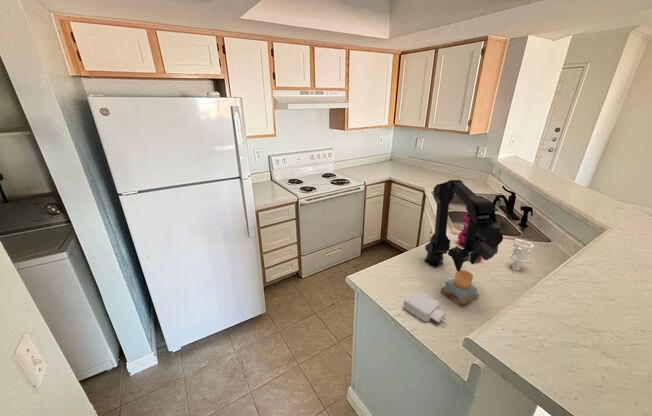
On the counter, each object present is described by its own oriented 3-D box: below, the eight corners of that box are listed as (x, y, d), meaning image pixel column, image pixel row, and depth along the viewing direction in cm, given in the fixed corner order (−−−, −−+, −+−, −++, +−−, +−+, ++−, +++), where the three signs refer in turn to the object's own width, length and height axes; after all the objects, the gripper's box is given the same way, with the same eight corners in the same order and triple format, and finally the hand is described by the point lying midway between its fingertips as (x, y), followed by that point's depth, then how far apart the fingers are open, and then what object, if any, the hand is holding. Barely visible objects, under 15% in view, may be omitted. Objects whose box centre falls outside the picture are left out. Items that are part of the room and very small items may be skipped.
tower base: (440, 293, 110) (441, 287, 109) (455, 285, 115) (456, 280, 114) (462, 309, 102) (463, 302, 101) (477, 300, 107) (479, 294, 106)
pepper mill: (458, 240, 151) (465, 208, 143) (472, 244, 147) (480, 211, 140) (455, 245, 146) (462, 212, 138) (469, 249, 142) (478, 215, 134)
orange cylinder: (450, 283, 107) (452, 272, 106) (459, 278, 110) (462, 268, 108) (464, 291, 103) (466, 281, 101) (473, 286, 106) (476, 276, 104)
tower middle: (444, 287, 110) (446, 281, 109) (459, 282, 112) (460, 276, 111) (460, 299, 103) (461, 293, 102) (475, 294, 106) (477, 288, 104)
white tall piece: (507, 262, 131) (515, 235, 125) (524, 267, 127) (534, 240, 121) (506, 269, 126) (515, 241, 120) (524, 275, 122) (534, 246, 116)
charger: (440, 333, 91) (402, 309, 101) (452, 319, 97) (415, 298, 107) (442, 323, 89) (404, 299, 100) (455, 309, 95) (417, 288, 105)
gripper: (480, 249, 88) (470, 286, 94) (510, 235, 97) (499, 271, 103) (451, 234, 97) (443, 270, 103) (481, 223, 106) (472, 257, 112)
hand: (465, 267), depth 105 cm, fingers open, 9 cm apart
